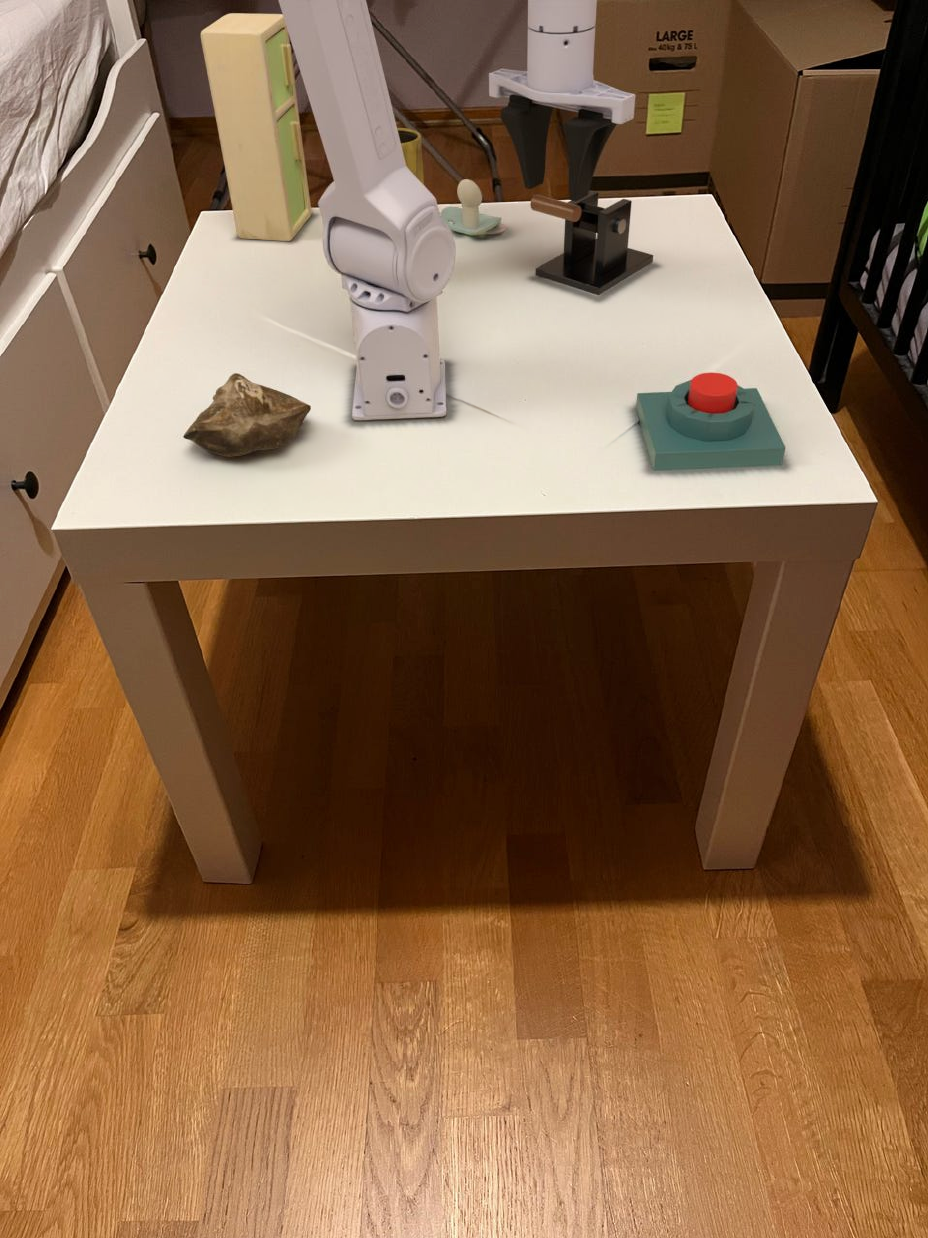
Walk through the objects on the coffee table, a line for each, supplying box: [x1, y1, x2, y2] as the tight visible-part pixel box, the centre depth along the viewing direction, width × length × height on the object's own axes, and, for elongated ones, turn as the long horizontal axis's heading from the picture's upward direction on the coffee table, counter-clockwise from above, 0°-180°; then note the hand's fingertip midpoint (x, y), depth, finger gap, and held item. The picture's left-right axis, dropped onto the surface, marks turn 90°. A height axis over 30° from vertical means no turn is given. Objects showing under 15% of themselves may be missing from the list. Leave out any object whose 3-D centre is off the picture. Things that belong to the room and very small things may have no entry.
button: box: [688, 371, 739, 414], centre depth 76 cm, size 4×4×2 cm
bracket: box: [535, 190, 654, 296], centre depth 100 cm, size 10×8×7 cm
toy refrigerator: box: [200, 12, 312, 242], centre depth 107 cm, size 8×7×21 cm
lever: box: [530, 193, 606, 234], centre depth 96 cm, size 10×5×2 cm, turn 139°
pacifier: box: [440, 178, 506, 237], centre depth 109 cm, size 7×6×6 cm
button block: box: [635, 379, 786, 472], centre depth 78 cm, size 9×10×4 cm
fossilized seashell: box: [183, 372, 312, 457], centre depth 79 cm, size 8×7×10 cm
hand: (556, 191), depth 92 cm, fingers open, 5 cm apart
